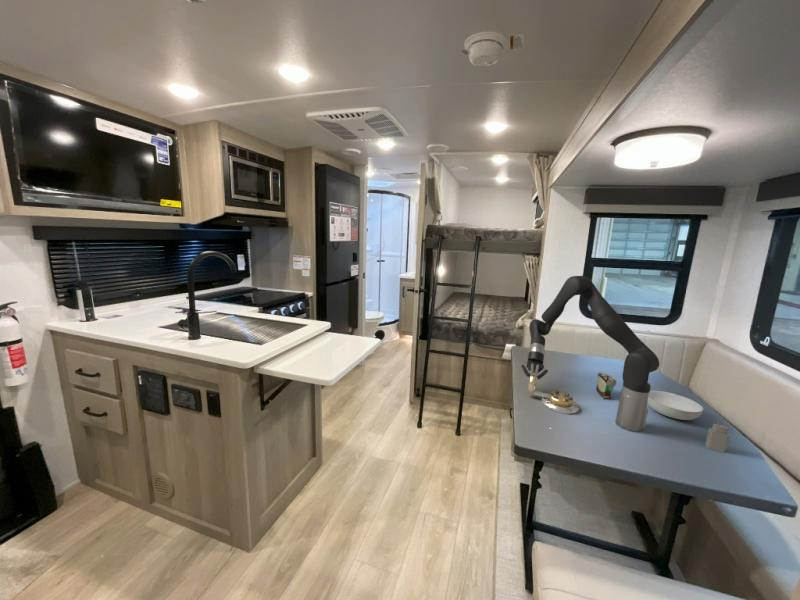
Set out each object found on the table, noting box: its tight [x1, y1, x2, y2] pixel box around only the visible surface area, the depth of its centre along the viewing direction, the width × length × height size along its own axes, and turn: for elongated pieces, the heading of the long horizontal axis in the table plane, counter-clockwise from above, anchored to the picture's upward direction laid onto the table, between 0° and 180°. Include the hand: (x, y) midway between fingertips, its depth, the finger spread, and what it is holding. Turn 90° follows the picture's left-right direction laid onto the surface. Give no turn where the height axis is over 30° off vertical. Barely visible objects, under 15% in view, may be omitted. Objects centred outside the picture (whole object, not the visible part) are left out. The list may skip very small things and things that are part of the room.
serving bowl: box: [647, 390, 704, 421], centre depth 151 cm, size 21×21×7 cm
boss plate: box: [541, 396, 580, 415], centre depth 153 cm, size 16×16×2 cm
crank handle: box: [527, 374, 574, 407], centre depth 154 cm, size 20×10×9 cm, turn 60°
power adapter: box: [704, 419, 731, 453], centre depth 125 cm, size 3×5×12 cm, turn 60°
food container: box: [595, 372, 617, 400], centre depth 166 cm, size 12×6×10 cm, turn 168°
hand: (532, 385), depth 160 cm, fingers closed
